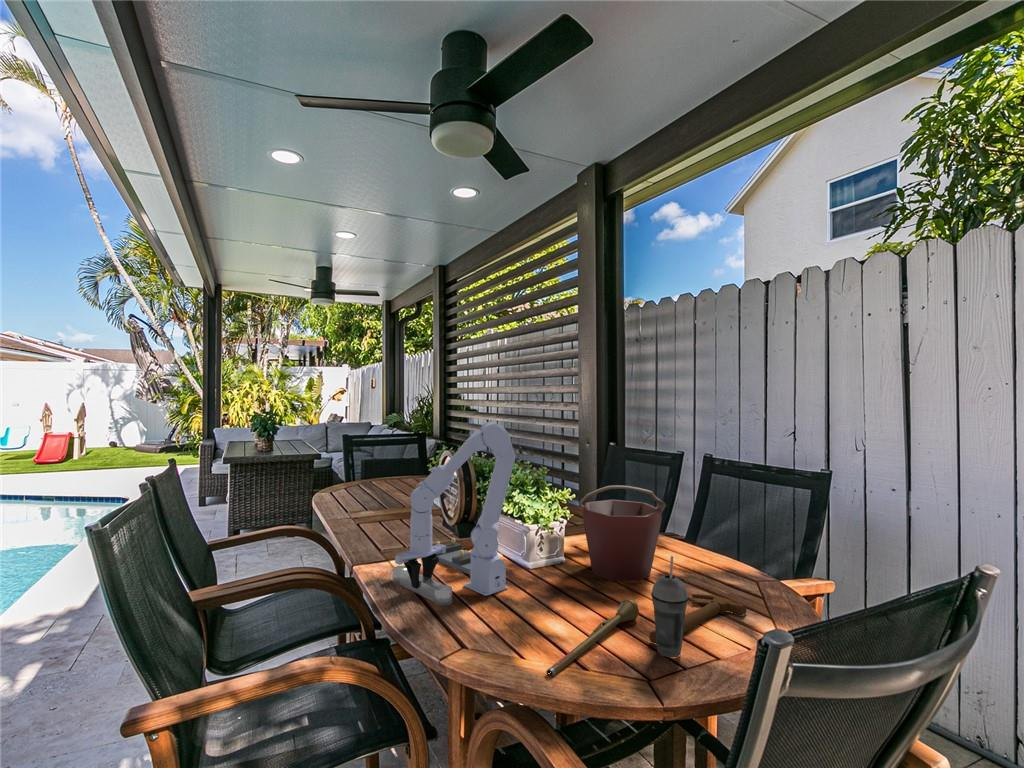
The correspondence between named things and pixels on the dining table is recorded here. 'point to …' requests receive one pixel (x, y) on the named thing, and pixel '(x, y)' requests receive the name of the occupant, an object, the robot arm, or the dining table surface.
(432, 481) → the robot arm
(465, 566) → the peg rack
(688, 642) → the dining table surface
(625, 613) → the panzerfaust rocket launcher
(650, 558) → the bucket
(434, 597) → the grey bar
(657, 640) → the beverage cup
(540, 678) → the dining table surface
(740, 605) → the hammer
